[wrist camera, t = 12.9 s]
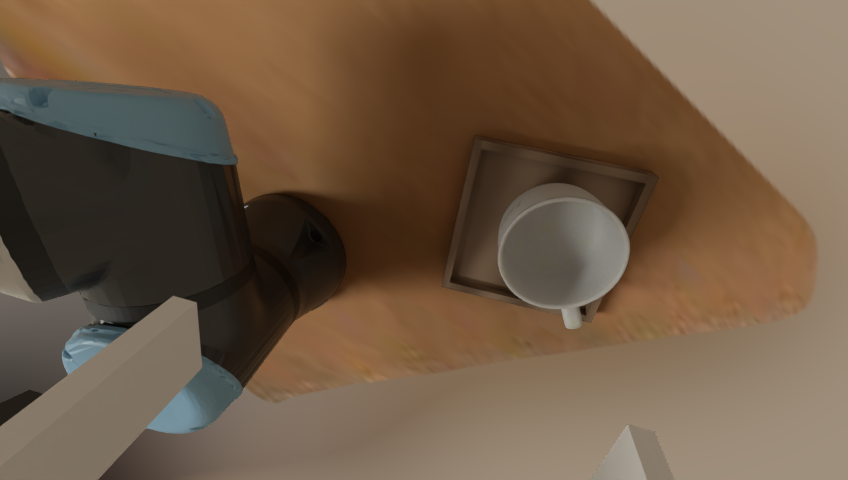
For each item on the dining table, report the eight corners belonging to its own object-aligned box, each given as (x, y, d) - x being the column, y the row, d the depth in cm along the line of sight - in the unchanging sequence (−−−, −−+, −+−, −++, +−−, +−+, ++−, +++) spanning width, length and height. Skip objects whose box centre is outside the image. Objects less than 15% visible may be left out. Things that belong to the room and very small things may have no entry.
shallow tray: (443, 278, 46) (441, 286, 44) (475, 135, 38) (474, 138, 37) (587, 313, 45) (591, 323, 43) (652, 171, 37) (658, 177, 35)
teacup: (496, 175, 39) (495, 202, 32) (613, 167, 37) (639, 195, 30) (500, 292, 45) (500, 338, 38) (601, 292, 42) (621, 341, 35)
